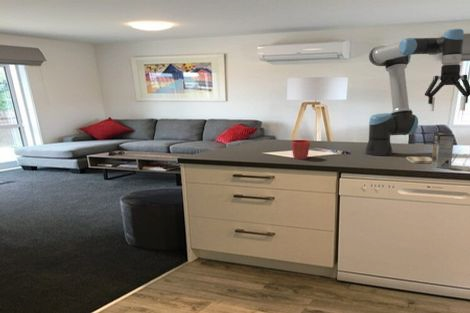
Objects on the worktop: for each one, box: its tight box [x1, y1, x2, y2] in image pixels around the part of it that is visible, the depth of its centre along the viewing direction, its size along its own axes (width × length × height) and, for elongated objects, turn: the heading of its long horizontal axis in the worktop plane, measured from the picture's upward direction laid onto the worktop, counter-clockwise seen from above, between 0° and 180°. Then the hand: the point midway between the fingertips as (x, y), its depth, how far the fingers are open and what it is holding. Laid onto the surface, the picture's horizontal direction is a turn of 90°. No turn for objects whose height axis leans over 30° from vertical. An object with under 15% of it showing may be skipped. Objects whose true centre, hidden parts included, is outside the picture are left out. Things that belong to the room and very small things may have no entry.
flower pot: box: [291, 139, 311, 160], centre depth 193 cm, size 11×11×10 cm
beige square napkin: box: [405, 156, 432, 164], centre depth 177 cm, size 11×11×1 cm
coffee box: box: [431, 131, 455, 169], centre depth 163 cm, size 9×6×16 cm
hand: (446, 110), depth 160 cm, fingers open, 13 cm apart
